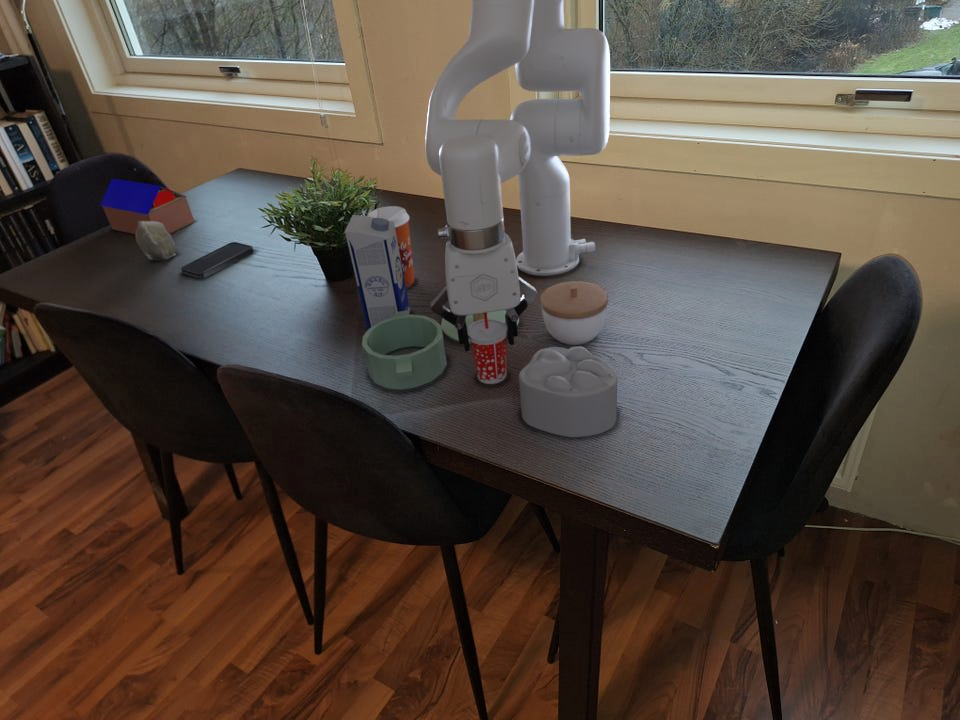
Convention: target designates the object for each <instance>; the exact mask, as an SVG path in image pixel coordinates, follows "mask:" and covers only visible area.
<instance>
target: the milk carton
mask: <svg viewBox="0 0 960 720" xmlns="http://www.w3.org/2000/svg"><path fill="white" fill-rule="evenodd" d="M344 232H345V233H344V234H345V237H346V242H347V247H348V250H349V255H350V258H351V263H352V267H353V272H354V276H355V280H356V285H357V289H358V294H359V299H360V303H361V307H362V312H363V315H364V316H363V317H364V321H365V324H366V329H367V330H368V329H369V328H371V327H373V326H374V325H376V324H377V323H379V322H381V321H383V320H386V319H389V318H392V317H395V312H400V311H407V310H409V313H410V314H411V308H410V307H411V306H410V302H409V297H408V292H407V287H406V285H405V280H404V275H403V269H402V264H401V258H400V253H399V247H398V242H397V236H396V231H395V225H394V221H389V220H386V219H383V218H374V217H369V216H368V215H358V214H352V216H351V218H350V220H349V221H348V224H347V226H346V228H345V230H344Z"/></svg>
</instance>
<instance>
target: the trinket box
mask: <svg viewBox="0 0 960 720" xmlns="http://www.w3.org/2000/svg"><path fill="white" fill-rule="evenodd" d="M608 304H609V295H608V292H607V290H605V289H604V288H603V287H602V286H600V285H598V284H596V283H593V282H588V281H583V280H582V281H581V280H572V281H571V280H569V281H563V282H559V283H556V284H554V285H551V286H549V287H547V288H546V289H545V290H544V291H543V292H542V293H541V295H540V306H541V314H542V320H543V323H544V327H545V328H546V330H547V332H548V333H549V334H550V336H552V338H554V339H555V340H556V341H558V342H559V343H562V344H564V345H569V346H581V345H585V344H587V343H589V342H592V340H595V338H596V337H598V336H599V334H600V333H601V332H602V330H603V328H604V327H605V324H606V320H607V315H608Z"/></svg>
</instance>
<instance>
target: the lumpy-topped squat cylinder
mask: <svg viewBox="0 0 960 720" xmlns="http://www.w3.org/2000/svg"><path fill="white" fill-rule="evenodd" d="M518 374H519V375H518V386H519V397H520V409H521V418H522V420H523V421H524V422H525V423H526V424H527V425H528V426H530V427H532V428H535V429H538V430H540V431H544V432H545V433H546V432H547V433H550V434H554V435H557V436H561V437H568V438H581V437H590V436H595V435H600V434H602V433H605V432H607V431H608V430H610V429H612V428H613V427H614V426H615V424H616V422H617V415H618V414H617V412H618V376H617V373H616V371H615V369H614V367H612V365H610V363H608V362H607V361H606V360H604V359H603V358H601V357H600V356H598V355H595V354H593V353H591V352H590V351H589V350H588V349H587V348H585V347H583V346H581V345H574V346H572V347H570V348H565V347H558V346H549V347H544V348H542V349H539V350H538V351H536V352H535V353H533V356H532V357H531V360H530V361H529V363H528V364H527V365H526V366H524V367H523V368H522V369H521V370H520V371H519V373H518Z"/></svg>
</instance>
